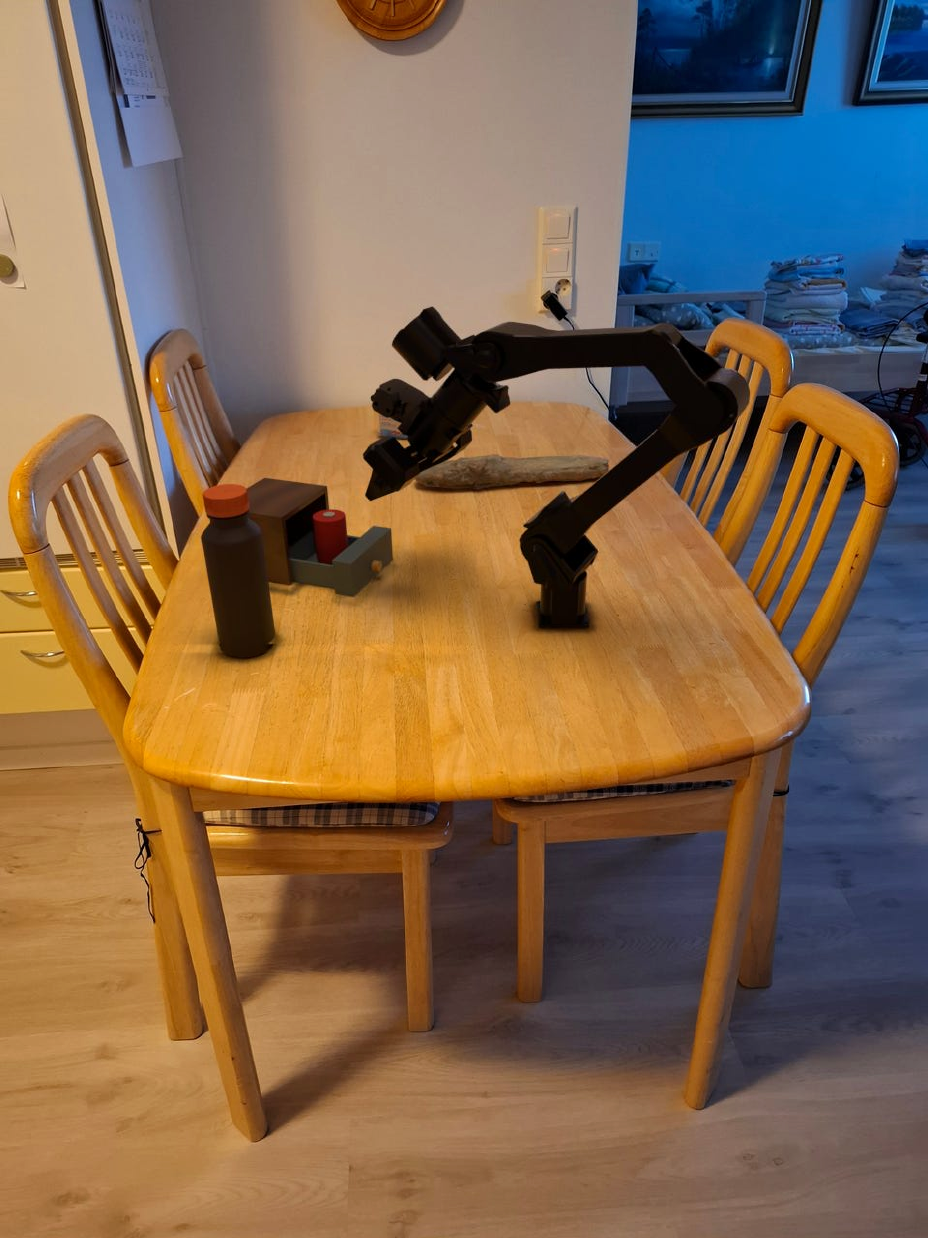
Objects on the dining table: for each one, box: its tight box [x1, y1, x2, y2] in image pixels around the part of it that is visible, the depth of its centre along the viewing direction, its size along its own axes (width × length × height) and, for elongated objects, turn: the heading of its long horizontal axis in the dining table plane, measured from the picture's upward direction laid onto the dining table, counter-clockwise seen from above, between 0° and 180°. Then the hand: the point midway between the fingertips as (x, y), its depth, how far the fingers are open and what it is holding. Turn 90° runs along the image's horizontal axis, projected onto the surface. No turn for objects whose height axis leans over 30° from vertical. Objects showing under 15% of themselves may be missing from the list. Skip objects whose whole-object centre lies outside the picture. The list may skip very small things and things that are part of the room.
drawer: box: [288, 525, 394, 598], centre depth 124 cm, size 13×12×6 cm
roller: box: [313, 508, 348, 565], centre depth 123 cm, size 4×4×8 cm
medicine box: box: [378, 413, 408, 440], centre depth 180 cm, size 8×4×9 cm, turn 73°
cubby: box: [246, 477, 330, 586], centre depth 126 cm, size 10×12×11 cm
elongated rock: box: [414, 453, 610, 491], centre depth 158 cm, size 35×5×10 cm
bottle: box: [200, 483, 276, 659], centre depth 105 cm, size 7×7×20 cm
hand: (386, 486), depth 119 cm, fingers open, 9 cm apart
